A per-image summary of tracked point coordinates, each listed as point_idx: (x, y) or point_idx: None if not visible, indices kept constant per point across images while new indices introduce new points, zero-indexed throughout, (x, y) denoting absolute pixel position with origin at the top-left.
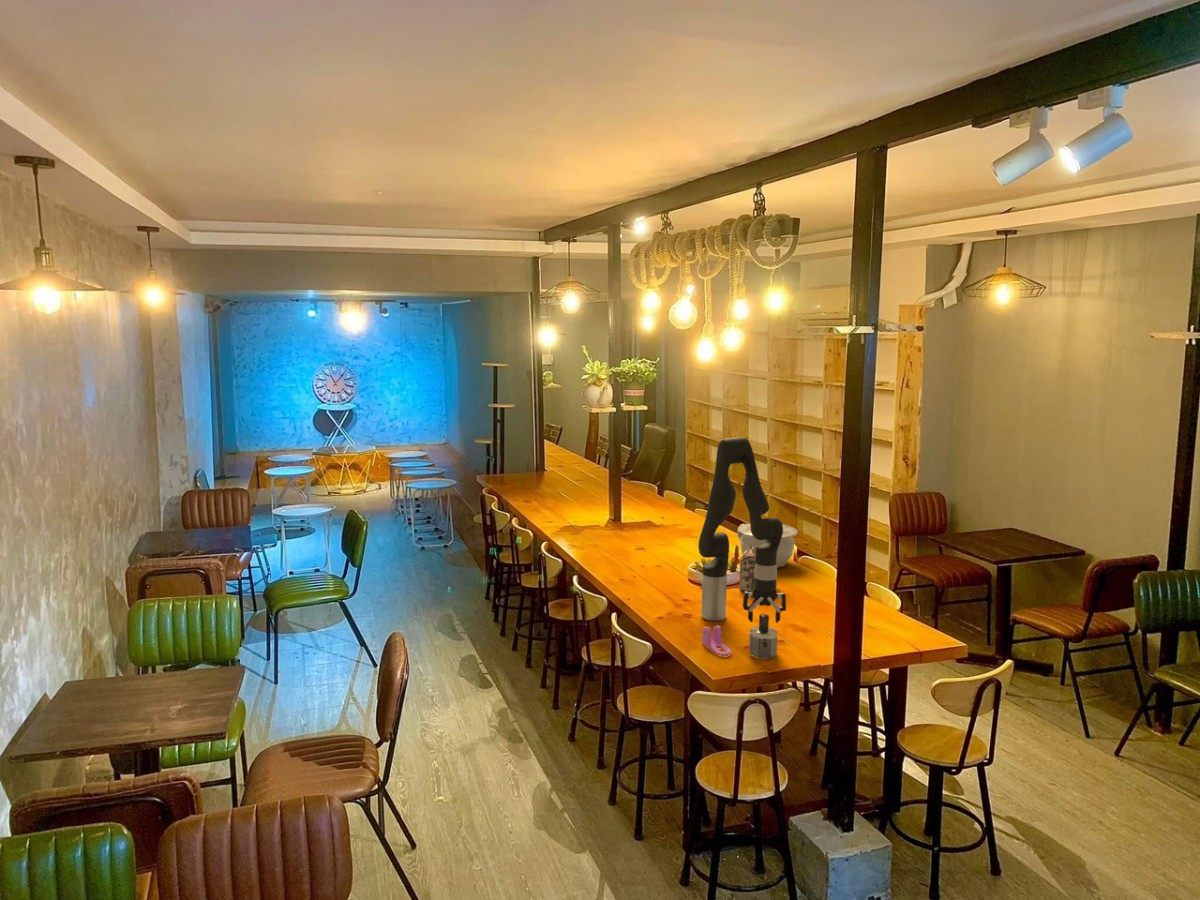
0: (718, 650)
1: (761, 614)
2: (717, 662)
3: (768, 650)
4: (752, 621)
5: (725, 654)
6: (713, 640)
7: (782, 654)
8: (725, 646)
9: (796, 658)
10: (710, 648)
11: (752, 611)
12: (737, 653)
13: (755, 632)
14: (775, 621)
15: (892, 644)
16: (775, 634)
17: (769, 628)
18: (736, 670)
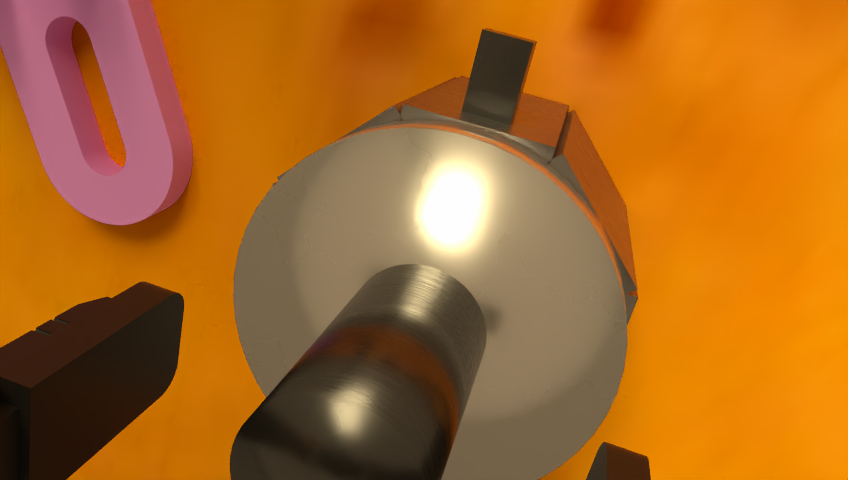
0: (63, 135)
1: (293, 408)
2: (64, 289)
3: None
4: (159, 395)
5: (115, 222)
6: None
7: (677, 275)
8: (134, 52)
9: (773, 394)
10: (11, 48)
11: (23, 473)
12: (248, 155)
13: (293, 336)
14: (590, 471)
15: None
16: (543, 468)
17: (553, 247)
18: (176, 447)
